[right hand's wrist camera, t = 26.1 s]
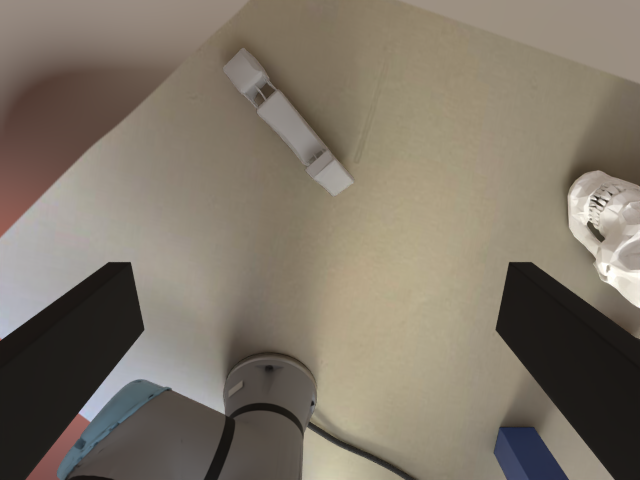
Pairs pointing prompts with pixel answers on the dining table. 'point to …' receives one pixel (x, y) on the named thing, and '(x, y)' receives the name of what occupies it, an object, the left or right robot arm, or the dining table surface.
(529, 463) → the block
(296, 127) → the grey jointed segment piece
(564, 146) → the dining table surface
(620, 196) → the skull
